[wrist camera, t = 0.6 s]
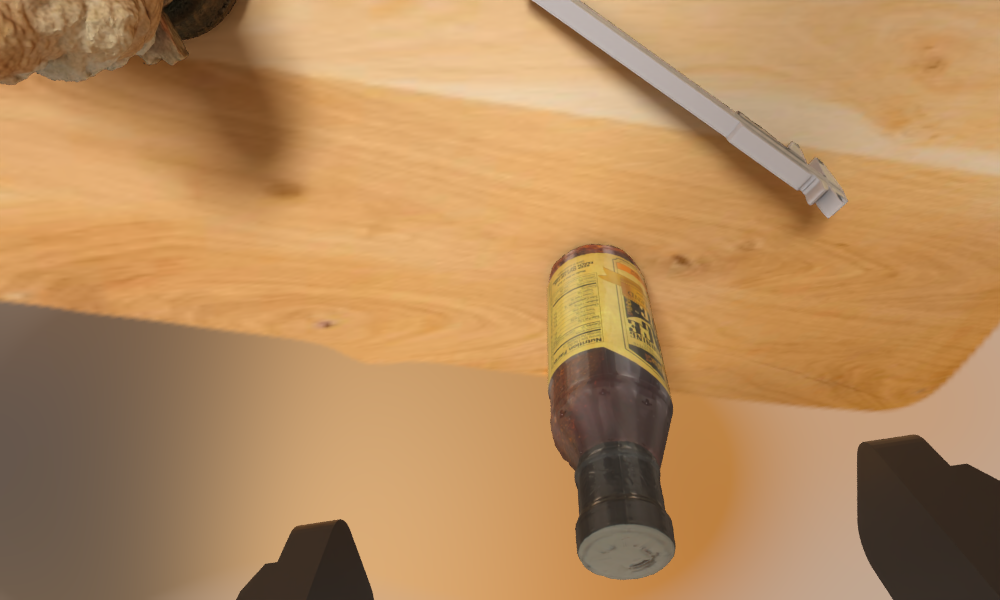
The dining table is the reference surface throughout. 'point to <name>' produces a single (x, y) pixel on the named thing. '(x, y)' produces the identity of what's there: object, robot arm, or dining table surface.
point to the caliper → (705, 106)
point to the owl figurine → (97, 34)
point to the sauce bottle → (610, 409)
